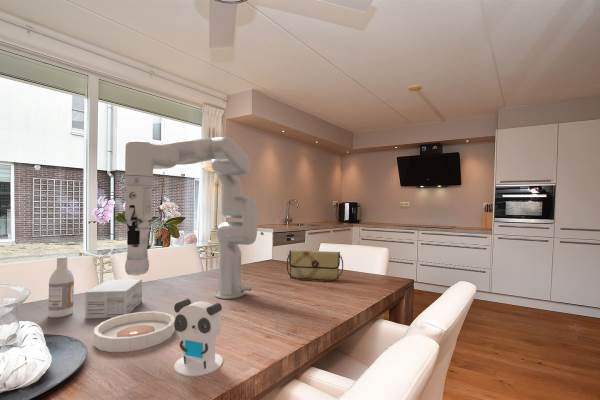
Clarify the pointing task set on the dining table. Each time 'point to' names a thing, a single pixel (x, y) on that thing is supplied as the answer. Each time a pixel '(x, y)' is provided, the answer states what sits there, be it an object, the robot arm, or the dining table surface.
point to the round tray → (133, 331)
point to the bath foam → (61, 290)
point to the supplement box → (113, 298)
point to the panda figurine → (197, 337)
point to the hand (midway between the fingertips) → (137, 242)
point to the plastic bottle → (138, 252)
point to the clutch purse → (314, 265)
